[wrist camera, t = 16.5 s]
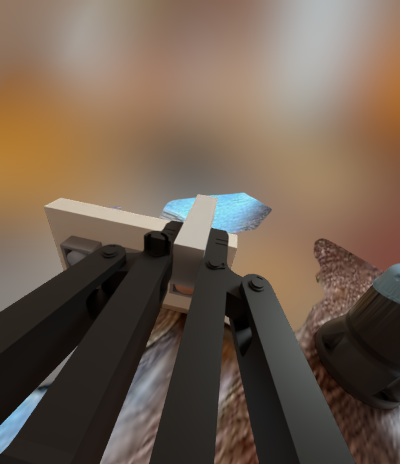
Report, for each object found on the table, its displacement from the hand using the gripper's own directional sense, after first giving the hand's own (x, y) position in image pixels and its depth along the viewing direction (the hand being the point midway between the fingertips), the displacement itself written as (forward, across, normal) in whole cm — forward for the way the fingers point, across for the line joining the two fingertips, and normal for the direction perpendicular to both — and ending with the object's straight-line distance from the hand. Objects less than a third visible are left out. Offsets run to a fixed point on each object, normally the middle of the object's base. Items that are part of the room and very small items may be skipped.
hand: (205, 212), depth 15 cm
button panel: (+15, -12, -32) cm, 37 cm away
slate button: (+10, -22, -21) cm, 32 cm away
